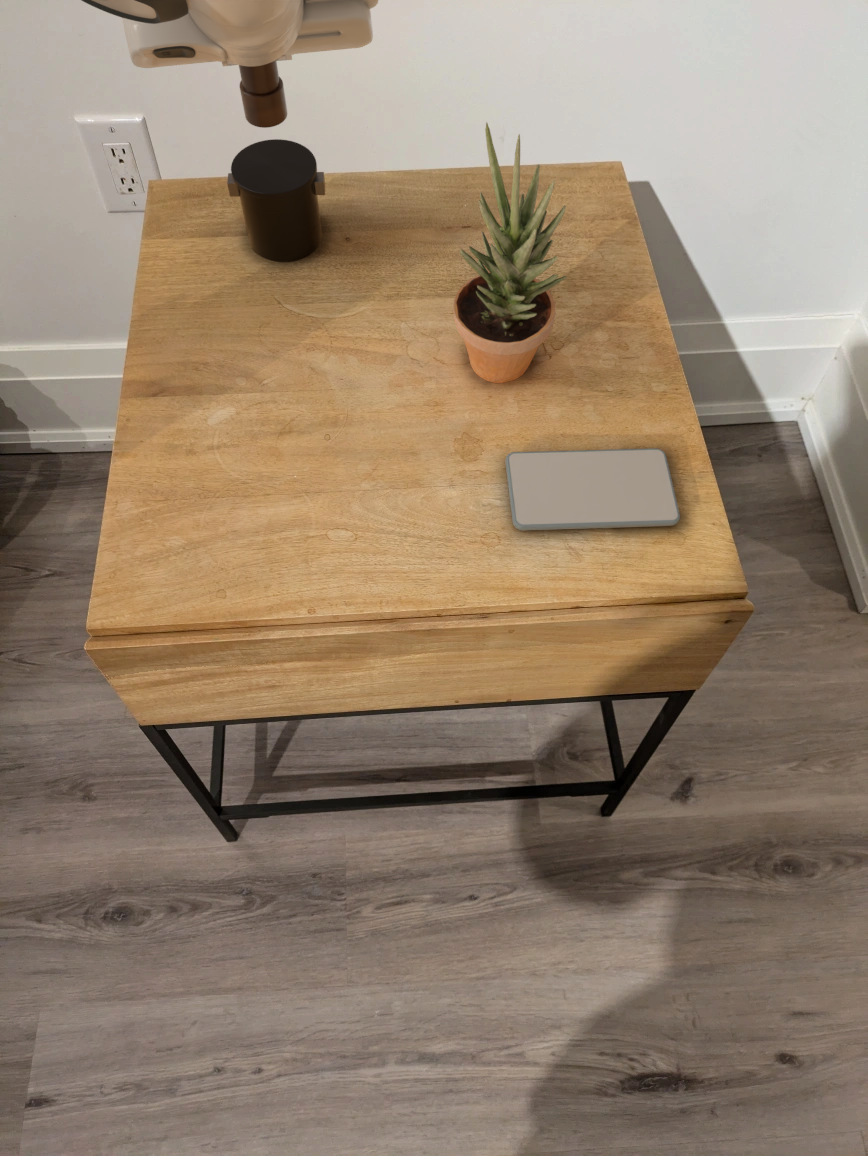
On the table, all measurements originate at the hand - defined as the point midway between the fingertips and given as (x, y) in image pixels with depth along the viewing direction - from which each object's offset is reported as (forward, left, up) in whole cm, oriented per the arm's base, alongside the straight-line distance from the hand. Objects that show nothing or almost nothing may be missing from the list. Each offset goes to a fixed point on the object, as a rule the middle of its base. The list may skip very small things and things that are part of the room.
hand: (255, 53), depth 76 cm
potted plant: (+22, -20, -20) cm, 35 cm away
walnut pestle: (0, -1, -5) cm, 5 cm away
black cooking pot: (0, -1, -19) cm, 19 cm away
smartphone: (+29, -36, -19) cm, 50 cm away
